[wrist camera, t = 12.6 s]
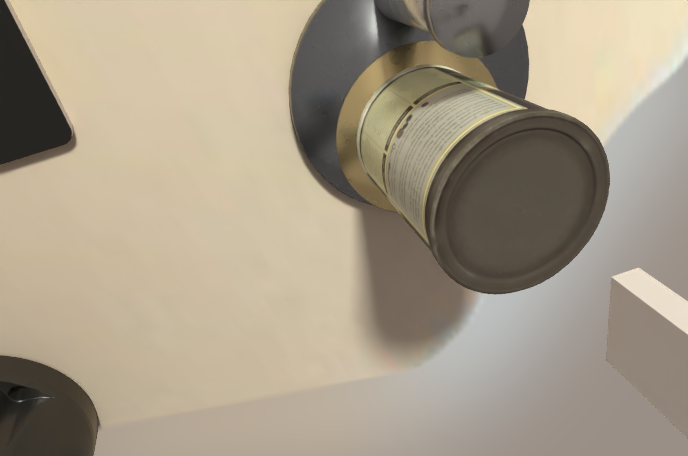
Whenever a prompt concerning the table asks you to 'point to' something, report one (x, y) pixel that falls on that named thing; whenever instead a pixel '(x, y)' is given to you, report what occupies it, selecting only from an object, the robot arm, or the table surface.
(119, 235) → the table surface
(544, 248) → the coffee can
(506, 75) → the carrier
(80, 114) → the table surface
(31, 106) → the smartphone
